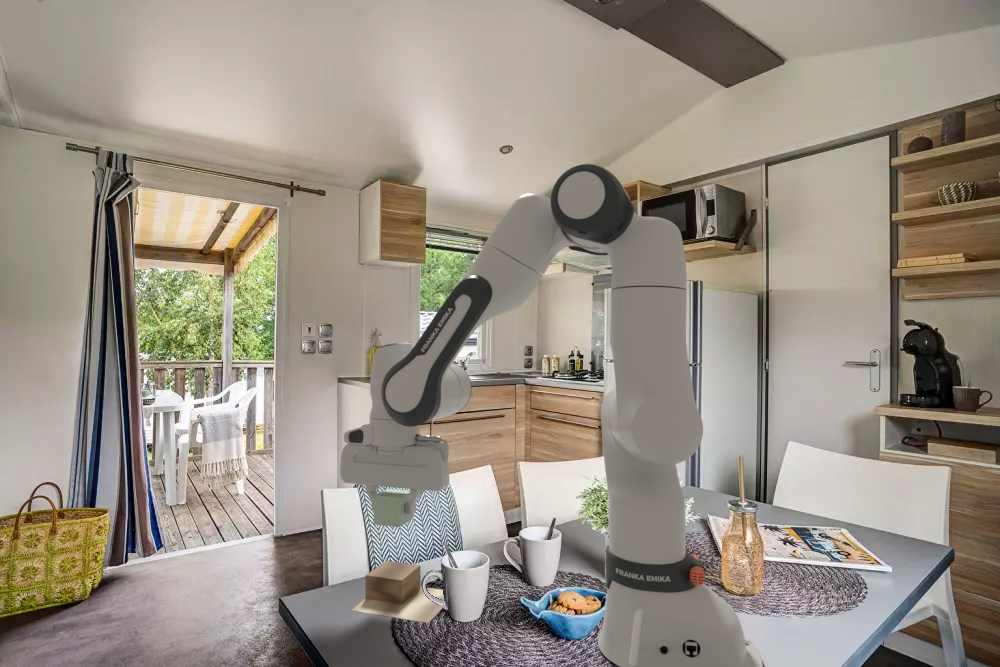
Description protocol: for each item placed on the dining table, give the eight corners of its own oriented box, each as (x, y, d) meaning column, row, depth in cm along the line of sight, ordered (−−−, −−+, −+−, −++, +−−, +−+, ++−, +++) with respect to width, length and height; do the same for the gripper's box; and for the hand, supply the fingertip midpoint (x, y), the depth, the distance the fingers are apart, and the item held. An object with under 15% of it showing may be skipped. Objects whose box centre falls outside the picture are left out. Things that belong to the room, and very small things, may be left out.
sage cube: (412, 519, 100) (413, 491, 100) (399, 527, 95) (399, 497, 95) (387, 516, 101) (388, 488, 101) (373, 524, 96) (374, 495, 97)
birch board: (457, 597, 98) (457, 591, 98) (428, 629, 87) (428, 622, 87) (387, 587, 102) (387, 581, 102) (350, 616, 91) (350, 610, 91)
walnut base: (420, 587, 100) (420, 565, 100) (401, 604, 93) (402, 580, 93) (385, 582, 102) (386, 560, 102) (365, 598, 95) (365, 575, 95)
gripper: (455, 433, 98) (454, 512, 98) (355, 428, 105) (354, 502, 104) (441, 438, 92) (440, 522, 92) (335, 432, 99) (334, 511, 98)
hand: (393, 511), depth 98 cm, fingers closed on sage cube, 5 cm apart
